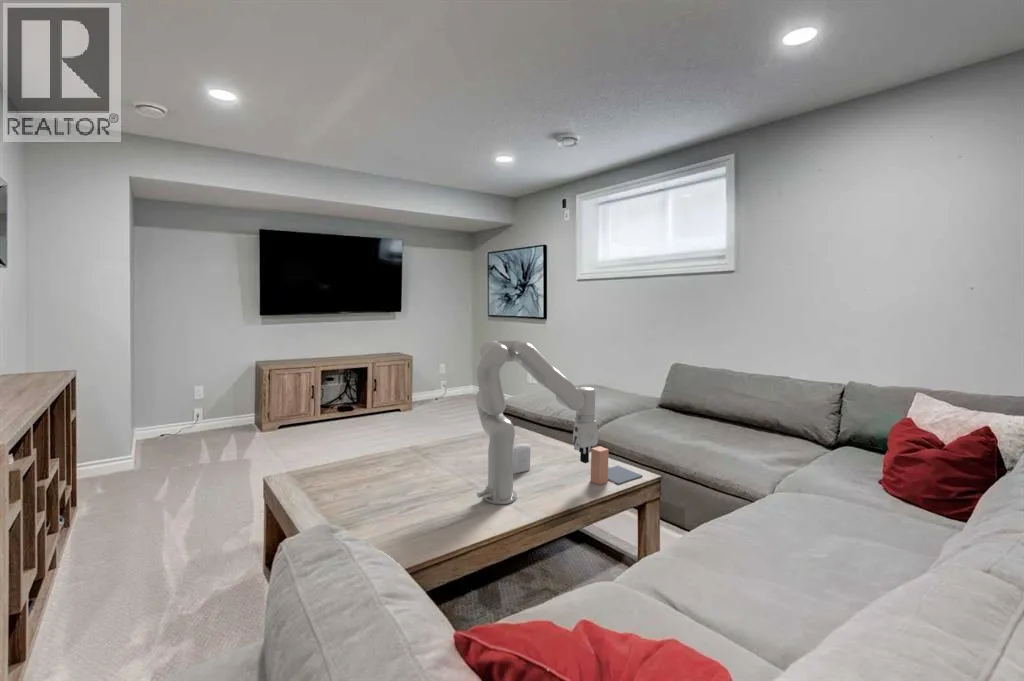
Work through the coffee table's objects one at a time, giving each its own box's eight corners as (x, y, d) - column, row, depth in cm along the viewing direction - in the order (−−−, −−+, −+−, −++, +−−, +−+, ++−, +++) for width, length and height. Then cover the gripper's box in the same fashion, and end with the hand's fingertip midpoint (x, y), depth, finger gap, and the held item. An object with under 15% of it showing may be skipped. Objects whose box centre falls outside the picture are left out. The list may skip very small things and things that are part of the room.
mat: (618, 484, 197) (618, 483, 197) (594, 473, 208) (594, 472, 208) (642, 476, 205) (642, 475, 205) (617, 466, 217) (617, 465, 217)
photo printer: (526, 467, 216) (526, 440, 214) (531, 470, 212) (531, 443, 211) (506, 472, 210) (507, 444, 209) (512, 475, 206) (512, 447, 205)
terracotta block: (599, 484, 197) (600, 451, 195) (590, 480, 201) (591, 448, 199) (607, 481, 200) (608, 449, 198) (599, 478, 204) (599, 446, 202)
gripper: (578, 422, 185) (577, 468, 187) (605, 417, 193) (604, 461, 195) (565, 418, 191) (564, 463, 193) (592, 413, 200) (591, 455, 201)
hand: (584, 461), depth 194 cm, fingers closed
